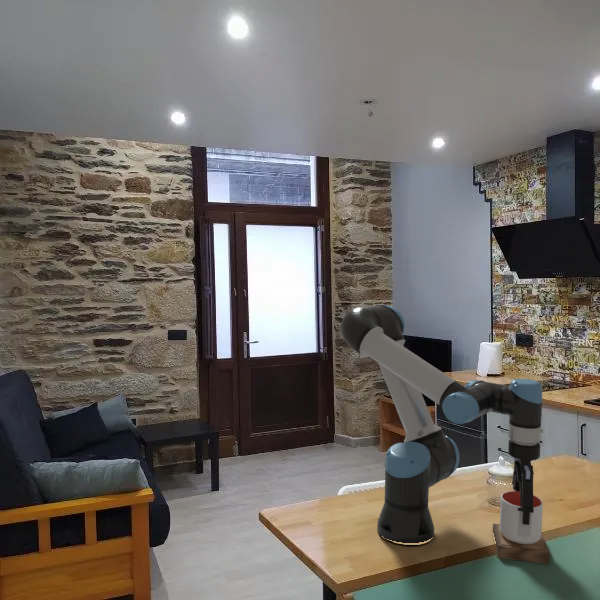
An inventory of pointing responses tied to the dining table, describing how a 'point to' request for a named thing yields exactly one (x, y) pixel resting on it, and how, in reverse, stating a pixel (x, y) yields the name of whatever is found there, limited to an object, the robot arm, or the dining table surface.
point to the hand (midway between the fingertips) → (521, 525)
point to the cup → (511, 518)
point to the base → (520, 548)
